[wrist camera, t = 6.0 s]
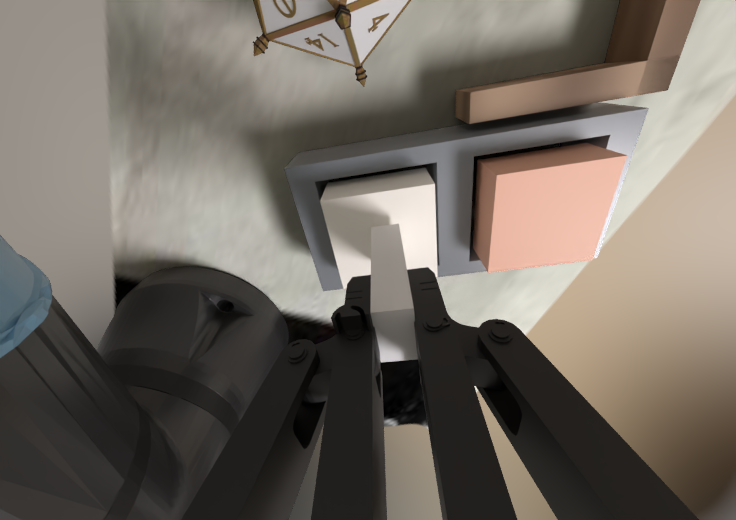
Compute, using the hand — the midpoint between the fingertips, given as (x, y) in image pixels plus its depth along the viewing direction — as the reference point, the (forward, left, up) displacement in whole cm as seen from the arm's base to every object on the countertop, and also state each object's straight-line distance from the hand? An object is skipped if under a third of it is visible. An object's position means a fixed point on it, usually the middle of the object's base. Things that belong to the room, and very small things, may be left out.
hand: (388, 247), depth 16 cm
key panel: (+4, 0, -7) cm, 8 cm away
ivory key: (0, 0, -4) cm, 4 cm away
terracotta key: (+9, 0, -3) cm, 9 cm away
